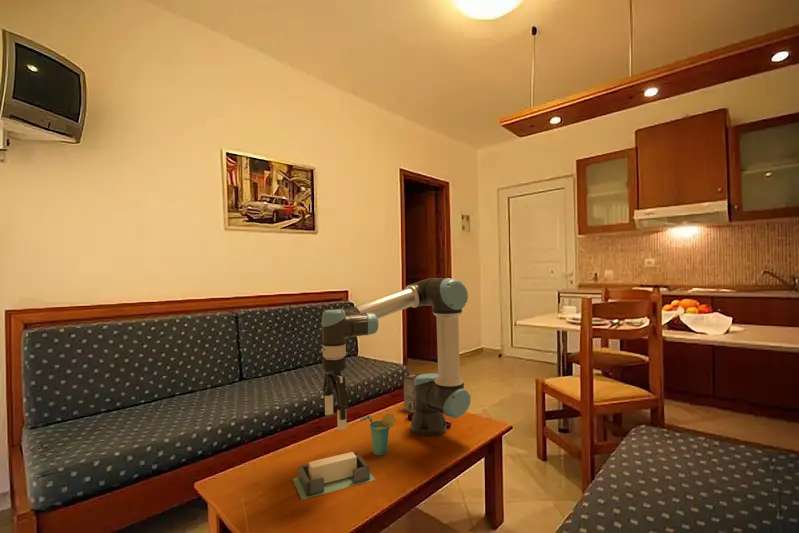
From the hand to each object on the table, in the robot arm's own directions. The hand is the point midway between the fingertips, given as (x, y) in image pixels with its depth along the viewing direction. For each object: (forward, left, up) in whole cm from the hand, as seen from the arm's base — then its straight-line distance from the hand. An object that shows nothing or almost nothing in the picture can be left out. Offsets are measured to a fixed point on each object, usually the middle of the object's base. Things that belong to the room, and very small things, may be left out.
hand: (335, 421), depth 130 cm
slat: (+1, +1, -18) cm, 18 cm away
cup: (-19, -9, -19) cm, 29 cm away
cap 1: (+9, +1, -19) cm, 20 cm away
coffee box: (-53, -42, -19) cm, 70 cm away
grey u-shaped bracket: (-7, +1, -19) cm, 20 cm away
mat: (+1, +1, -19) cm, 19 cm away
